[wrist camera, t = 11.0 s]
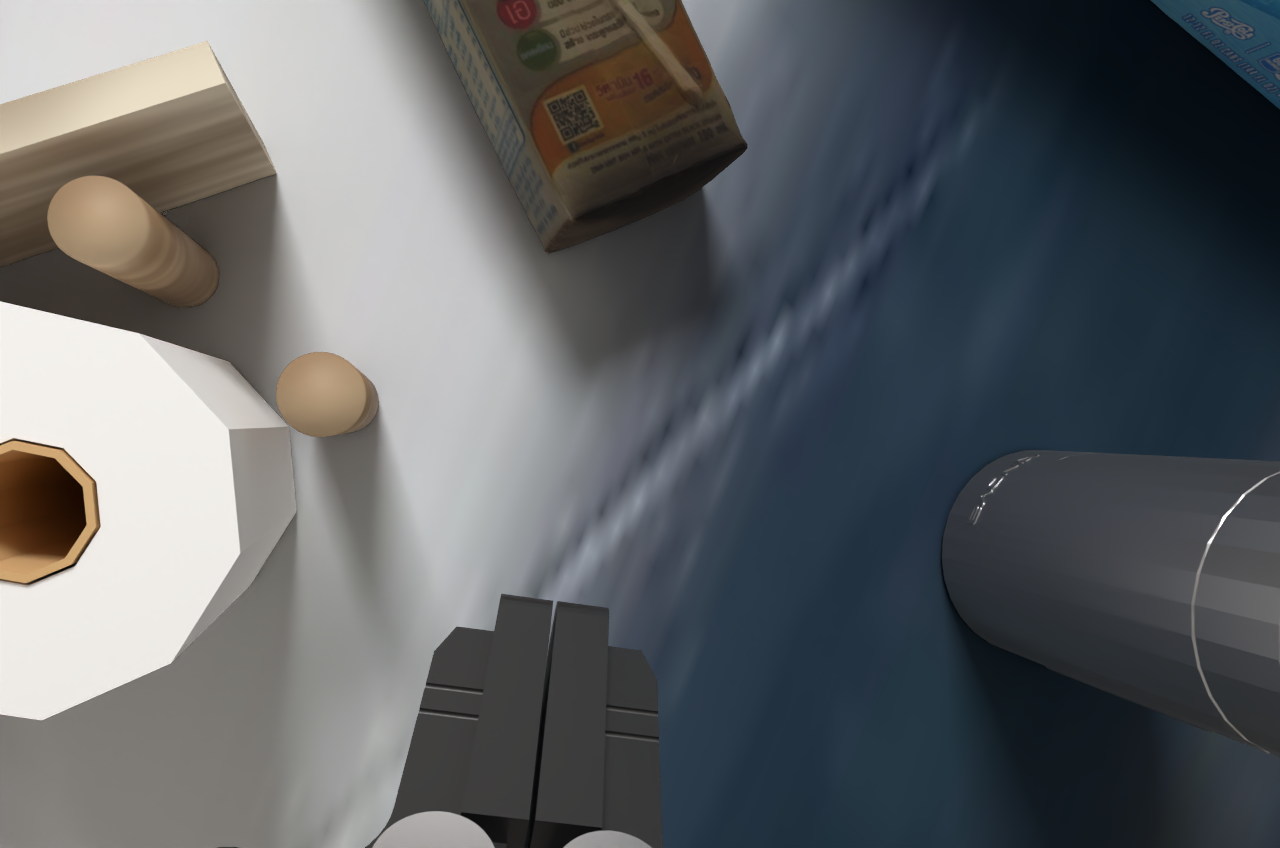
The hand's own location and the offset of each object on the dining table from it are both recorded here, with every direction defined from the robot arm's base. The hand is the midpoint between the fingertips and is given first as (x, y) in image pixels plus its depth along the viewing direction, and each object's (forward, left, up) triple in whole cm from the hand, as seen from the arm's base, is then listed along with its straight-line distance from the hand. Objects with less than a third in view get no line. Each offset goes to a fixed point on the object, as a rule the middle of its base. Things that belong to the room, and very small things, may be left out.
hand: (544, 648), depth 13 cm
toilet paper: (+8, +8, -25) cm, 28 cm away
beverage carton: (+13, -15, -26) cm, 32 cm away
